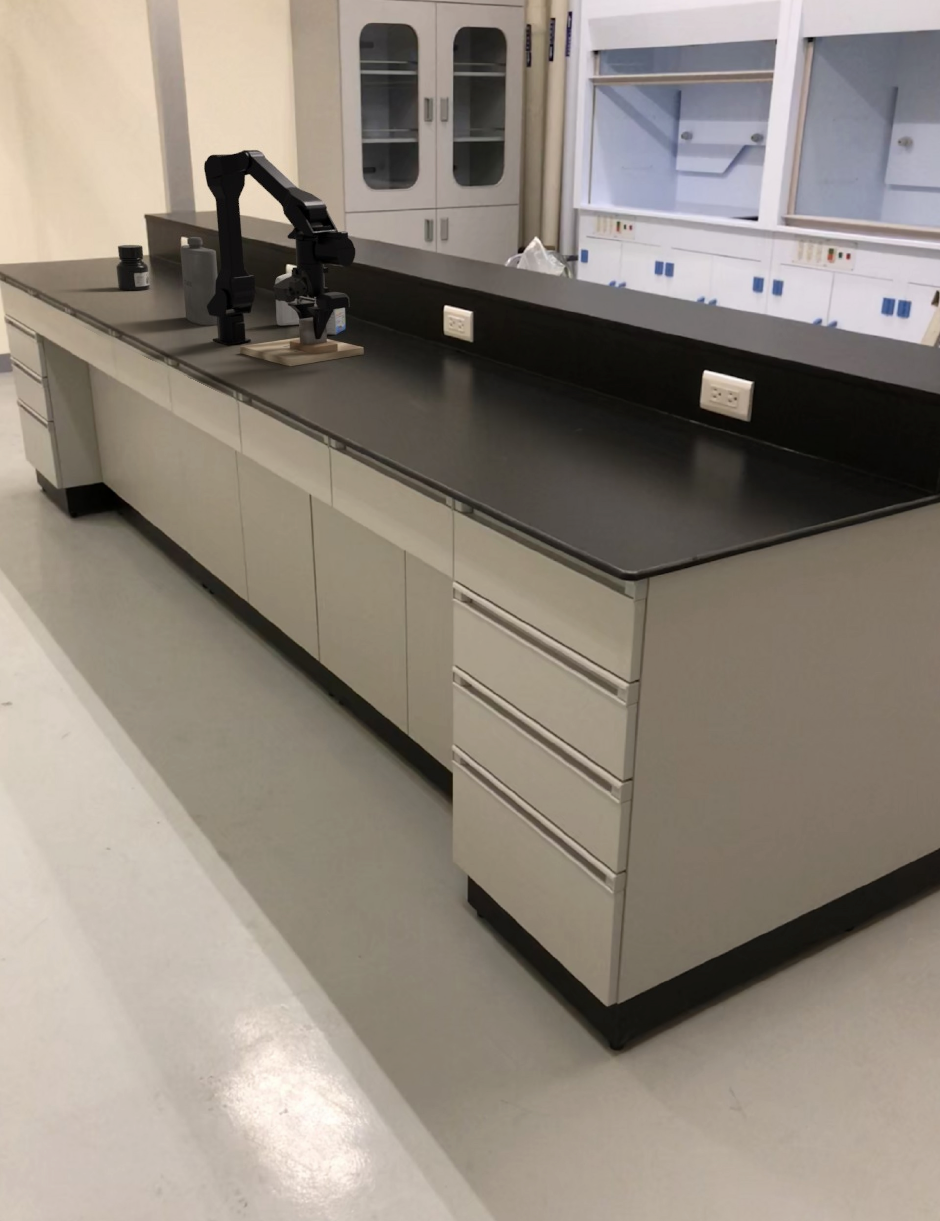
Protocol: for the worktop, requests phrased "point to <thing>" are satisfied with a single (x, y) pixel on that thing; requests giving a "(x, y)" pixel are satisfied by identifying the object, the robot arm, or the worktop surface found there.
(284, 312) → the white rectangular bottle
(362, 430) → the worktop surface
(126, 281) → the ink bottle
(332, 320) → the medicine box
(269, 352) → the sanding board
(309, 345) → the block
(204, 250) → the flask
